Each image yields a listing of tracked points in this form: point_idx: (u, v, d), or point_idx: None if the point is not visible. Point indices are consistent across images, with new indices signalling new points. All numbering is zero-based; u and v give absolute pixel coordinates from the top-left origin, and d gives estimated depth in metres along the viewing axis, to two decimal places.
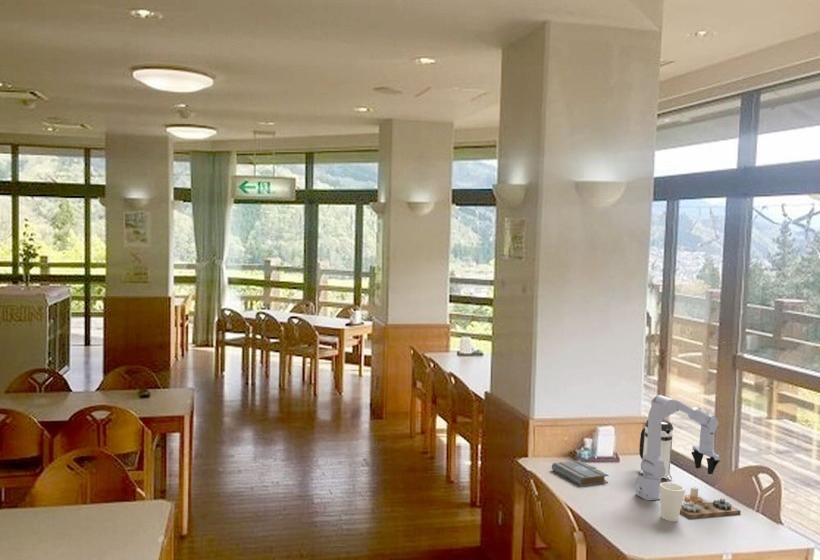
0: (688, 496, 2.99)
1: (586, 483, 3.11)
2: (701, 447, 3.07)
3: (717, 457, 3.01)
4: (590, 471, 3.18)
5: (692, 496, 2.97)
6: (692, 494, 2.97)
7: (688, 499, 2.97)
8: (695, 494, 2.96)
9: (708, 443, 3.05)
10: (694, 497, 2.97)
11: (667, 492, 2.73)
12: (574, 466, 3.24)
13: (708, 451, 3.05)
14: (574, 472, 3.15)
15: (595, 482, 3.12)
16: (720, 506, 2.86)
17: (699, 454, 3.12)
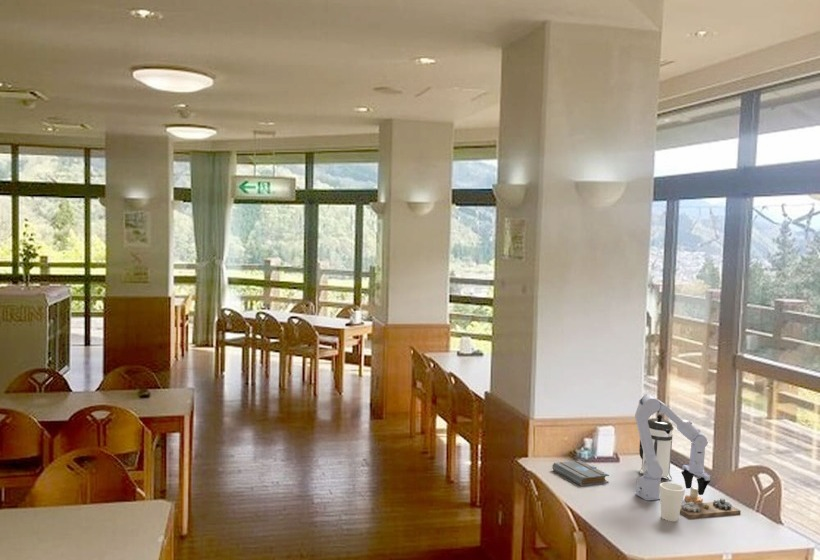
0: (688, 496, 2.99)
1: (587, 483, 3.11)
2: (691, 467, 2.96)
3: (708, 477, 2.90)
4: (591, 471, 3.18)
5: (692, 496, 2.97)
6: (692, 494, 2.97)
7: (688, 499, 2.97)
8: (695, 494, 2.96)
9: (698, 463, 2.94)
10: (694, 497, 2.97)
11: (667, 492, 2.73)
12: (575, 466, 3.24)
13: (698, 471, 2.94)
14: (575, 472, 3.15)
15: (595, 482, 3.13)
16: (720, 506, 2.86)
17: (689, 474, 3.01)
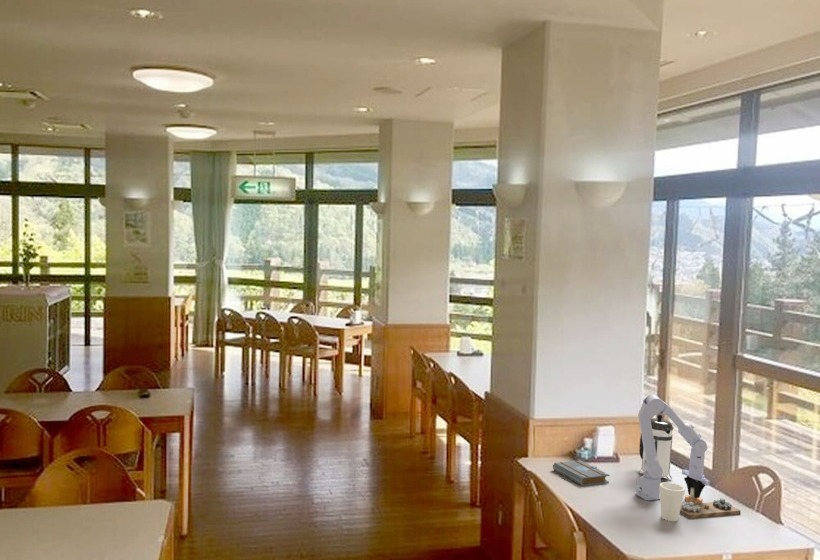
0: (688, 496, 2.99)
1: (587, 483, 3.11)
2: (691, 471, 2.96)
3: (707, 482, 2.91)
4: (591, 471, 3.18)
5: (692, 496, 2.97)
6: (692, 494, 2.97)
7: (688, 499, 2.97)
8: None
9: (698, 468, 2.94)
10: (694, 497, 2.97)
11: (667, 492, 2.73)
12: (575, 466, 3.24)
13: (698, 476, 2.95)
14: (575, 472, 3.16)
15: (596, 482, 3.13)
16: (720, 506, 2.86)
17: (692, 480, 2.99)
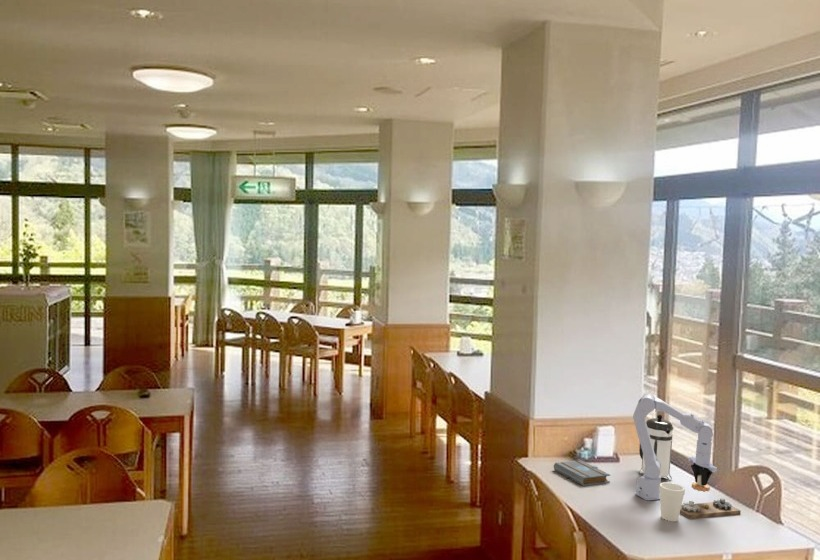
0: (695, 484, 2.94)
1: (588, 483, 3.11)
2: (698, 459, 2.91)
3: (715, 469, 2.85)
4: (592, 471, 3.19)
5: (699, 484, 2.92)
6: (699, 482, 2.92)
7: (695, 487, 2.91)
8: None
9: (705, 454, 2.89)
10: (701, 485, 2.91)
11: (667, 492, 2.73)
12: (576, 466, 3.24)
13: (705, 463, 2.89)
14: (576, 472, 3.16)
15: (597, 482, 3.13)
16: (720, 506, 2.86)
17: (699, 467, 2.94)
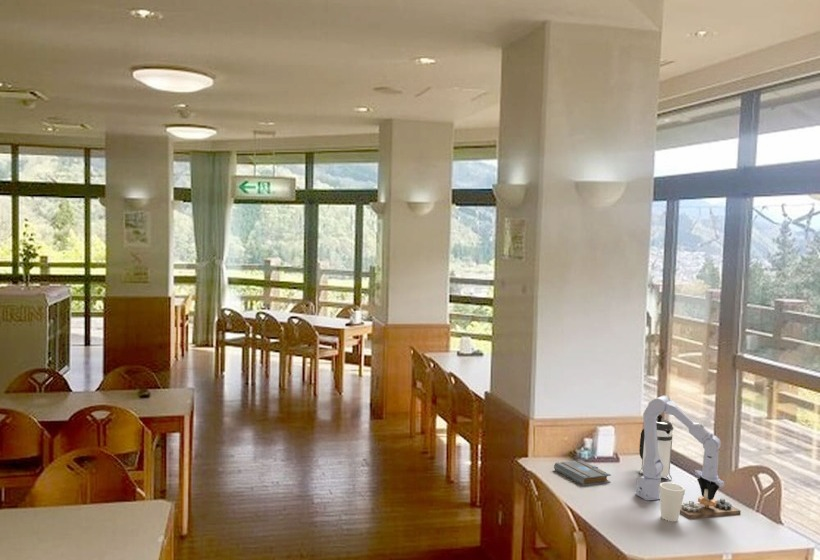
0: (701, 498, 2.87)
1: (588, 483, 3.11)
2: (704, 472, 2.85)
3: (722, 483, 2.79)
4: (592, 471, 3.19)
5: (706, 498, 2.85)
6: (706, 496, 2.85)
7: (702, 501, 2.85)
8: None
9: (712, 468, 2.83)
10: (708, 499, 2.85)
11: (667, 492, 2.73)
12: (576, 466, 3.25)
13: (712, 477, 2.83)
14: (576, 472, 3.16)
15: (597, 482, 3.13)
16: (720, 506, 2.86)
17: (706, 481, 2.88)
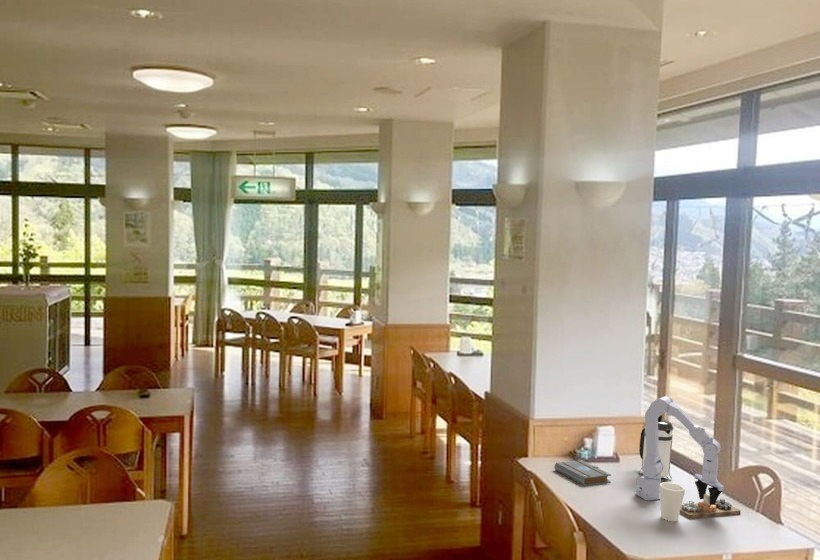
0: (701, 503, 2.88)
1: (589, 483, 3.11)
2: (704, 476, 2.85)
3: (721, 487, 2.79)
4: (593, 471, 3.19)
5: (705, 503, 2.85)
6: (705, 501, 2.85)
7: (701, 506, 2.85)
8: (709, 501, 2.85)
9: (711, 472, 2.83)
10: (707, 504, 2.85)
11: (667, 492, 2.73)
12: (577, 466, 3.25)
13: (711, 481, 2.83)
14: (577, 472, 3.16)
15: (598, 482, 3.13)
16: (720, 506, 2.86)
17: (703, 484, 2.89)
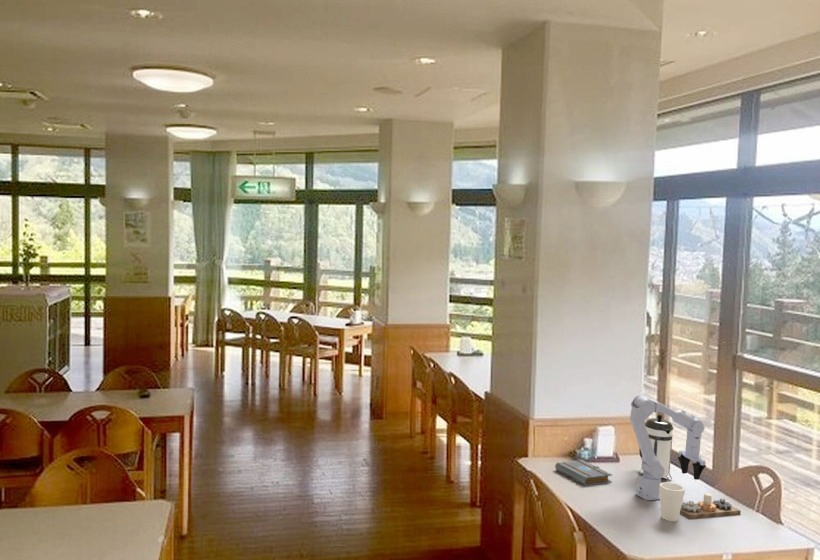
0: (701, 503, 2.88)
1: (590, 483, 3.12)
2: (687, 452, 3.00)
3: (703, 462, 2.94)
4: (594, 471, 3.19)
5: (705, 503, 2.85)
6: (705, 501, 2.85)
7: (701, 506, 2.85)
8: (709, 501, 2.85)
9: (694, 448, 2.98)
10: (707, 504, 2.85)
11: (667, 492, 2.73)
12: (577, 466, 3.25)
13: (694, 456, 2.98)
14: (578, 472, 3.16)
15: (599, 482, 3.13)
16: (720, 506, 2.86)
17: (685, 459, 3.05)
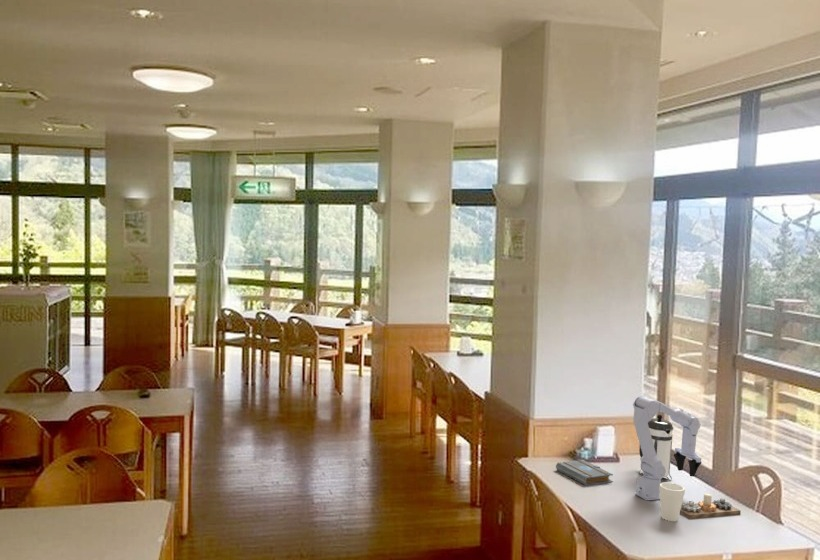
0: (701, 503, 2.88)
1: (591, 482, 3.12)
2: (683, 449, 3.04)
3: (699, 459, 2.98)
4: (594, 470, 3.19)
5: (705, 503, 2.85)
6: (705, 501, 2.85)
7: (701, 506, 2.85)
8: (709, 501, 2.85)
9: (690, 445, 3.02)
10: (707, 504, 2.85)
11: (667, 492, 2.73)
12: (578, 466, 3.25)
13: (690, 453, 3.02)
14: (579, 472, 3.16)
15: (599, 482, 3.14)
16: (720, 506, 2.86)
17: (681, 456, 3.09)
